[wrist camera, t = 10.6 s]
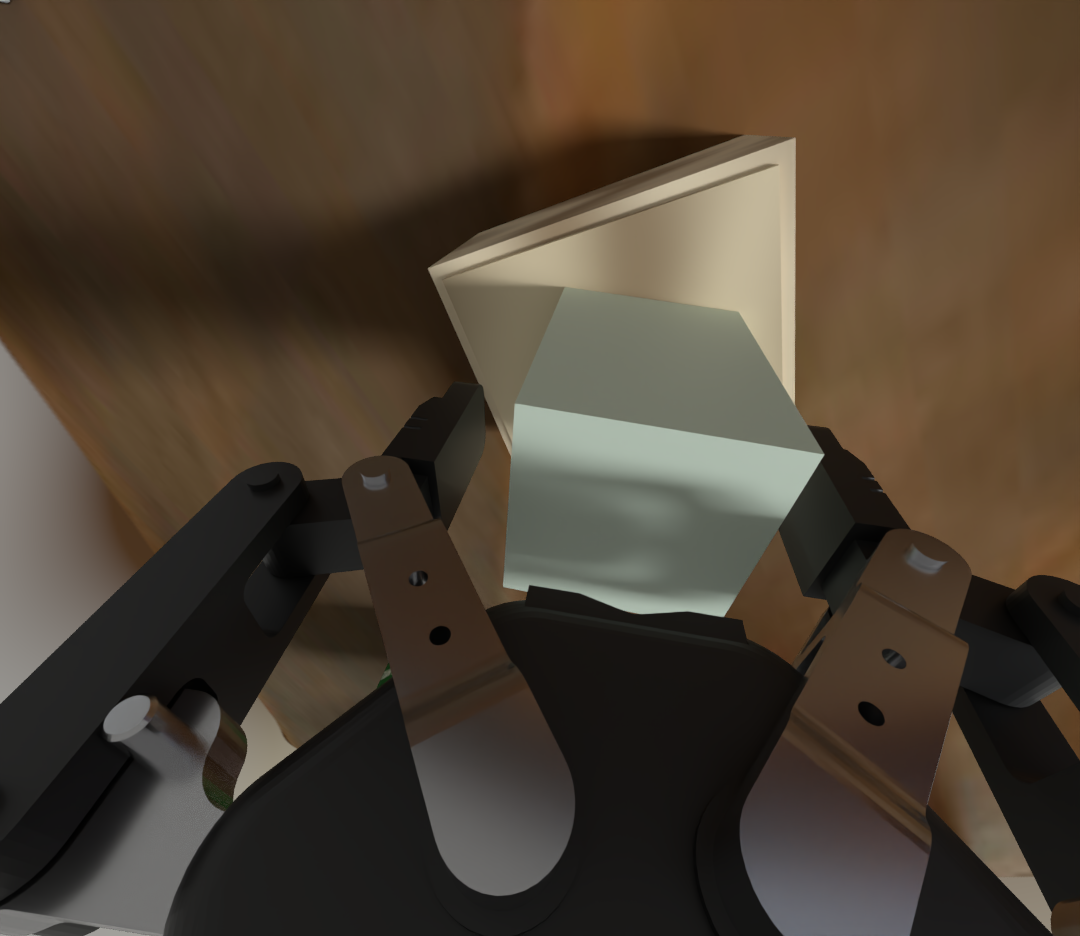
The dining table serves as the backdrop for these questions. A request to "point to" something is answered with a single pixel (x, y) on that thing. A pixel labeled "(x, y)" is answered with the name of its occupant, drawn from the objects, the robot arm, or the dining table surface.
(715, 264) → the beige box
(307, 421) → the dining table surface
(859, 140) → the dining table surface
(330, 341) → the dining table surface
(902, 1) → the dining table surface
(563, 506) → the block
